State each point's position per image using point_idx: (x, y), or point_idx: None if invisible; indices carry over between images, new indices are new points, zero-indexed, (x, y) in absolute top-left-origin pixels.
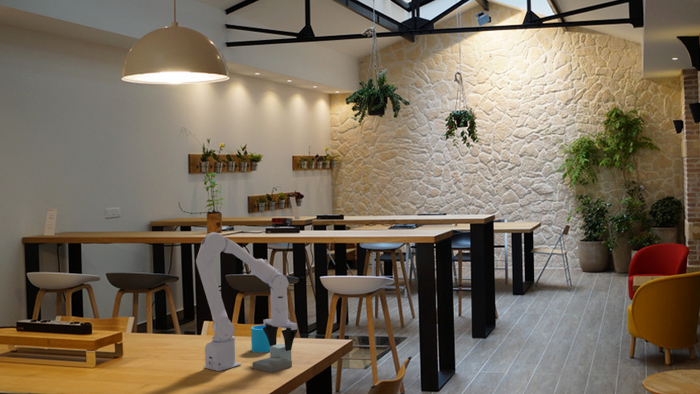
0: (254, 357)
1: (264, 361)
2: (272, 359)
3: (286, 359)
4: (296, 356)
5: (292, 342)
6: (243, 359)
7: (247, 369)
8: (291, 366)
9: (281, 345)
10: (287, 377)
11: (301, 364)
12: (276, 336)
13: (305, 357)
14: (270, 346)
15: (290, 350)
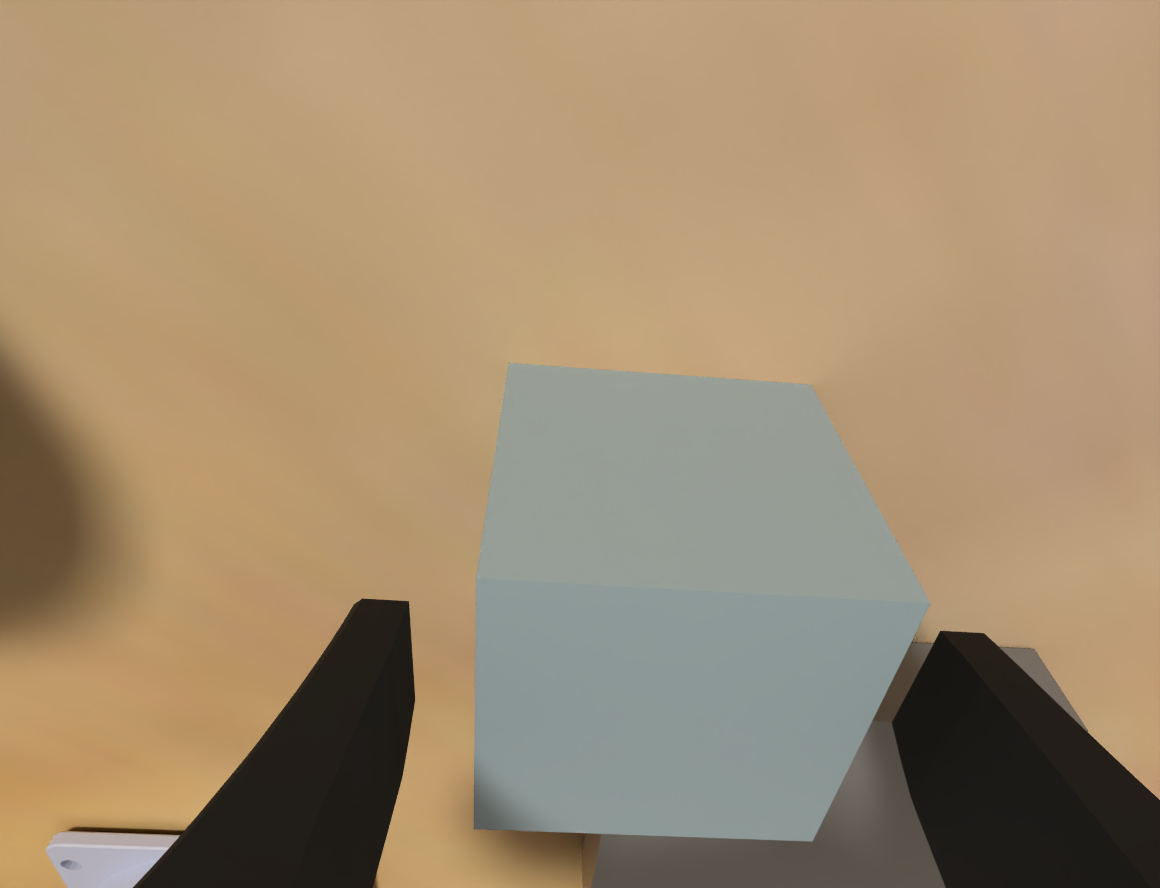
0: (88, 565)
1: (700, 875)
2: None
3: None
4: (759, 101)
5: (1140, 803)
6: (89, 693)
7: (557, 877)
8: (1032, 659)
9: (669, 701)
10: None
11: (1149, 515)
12: (309, 844)
13: (1044, 58)
14: (490, 826)
15: (872, 526)
